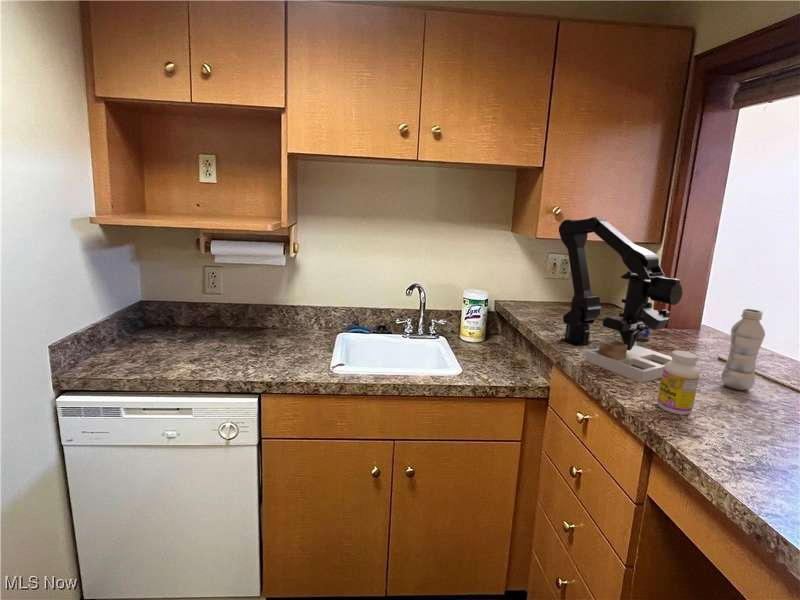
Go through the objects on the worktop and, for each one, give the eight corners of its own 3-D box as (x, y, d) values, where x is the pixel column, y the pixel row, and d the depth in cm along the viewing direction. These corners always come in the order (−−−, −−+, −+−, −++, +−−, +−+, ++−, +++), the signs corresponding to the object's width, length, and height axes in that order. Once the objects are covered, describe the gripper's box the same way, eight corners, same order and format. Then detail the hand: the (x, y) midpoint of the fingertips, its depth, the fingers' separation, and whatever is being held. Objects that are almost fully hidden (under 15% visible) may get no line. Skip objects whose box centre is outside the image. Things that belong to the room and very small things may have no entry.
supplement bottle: (650, 401, 101) (660, 348, 98) (677, 402, 102) (688, 348, 99) (669, 416, 94) (681, 359, 92) (698, 416, 95) (711, 359, 92)
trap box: (584, 360, 126) (586, 350, 125) (632, 350, 137) (634, 341, 136) (641, 383, 112) (643, 371, 111) (689, 369, 122) (692, 359, 122)
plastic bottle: (754, 396, 107) (773, 315, 102) (719, 388, 110) (737, 310, 106) (750, 387, 112) (768, 310, 108) (718, 380, 116) (734, 306, 111)
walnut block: (598, 355, 125) (600, 341, 124) (609, 353, 127) (611, 339, 126) (614, 361, 120) (616, 347, 120) (625, 358, 123) (627, 345, 122)
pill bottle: (651, 342, 146) (657, 310, 143) (631, 340, 147) (637, 308, 144) (645, 337, 152) (651, 305, 149) (626, 335, 153) (631, 304, 150)
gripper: (643, 306, 113) (633, 364, 116) (686, 301, 121) (675, 355, 125) (605, 296, 122) (597, 350, 126) (647, 292, 131) (638, 343, 134)
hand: (628, 349), depth 127 cm, fingers closed
